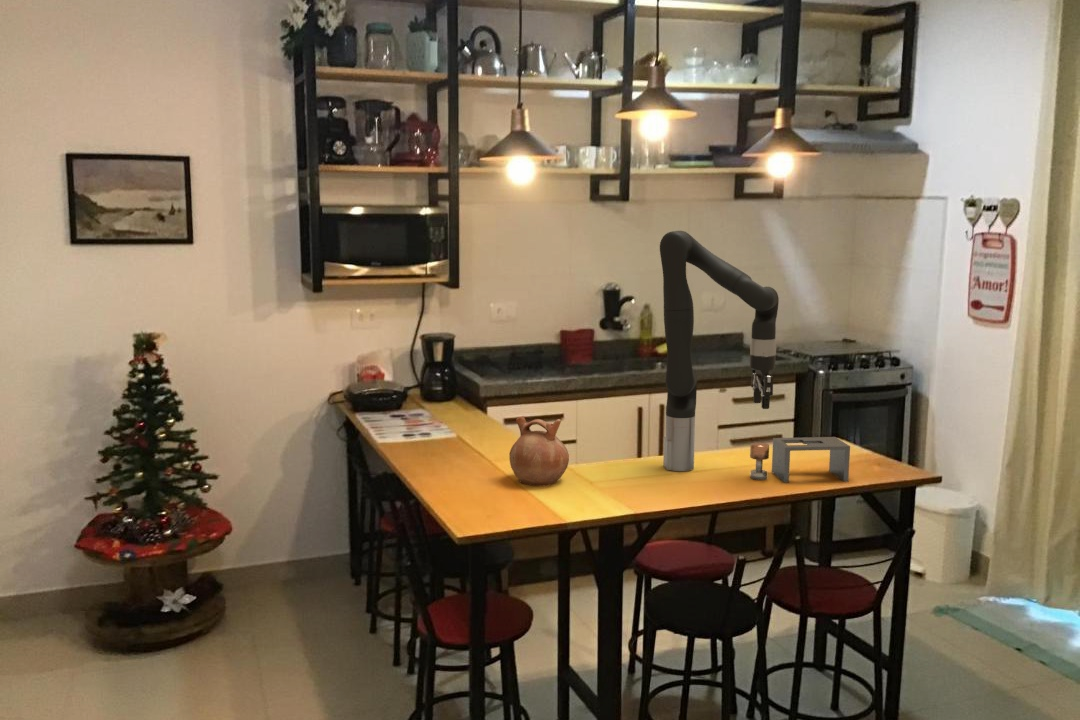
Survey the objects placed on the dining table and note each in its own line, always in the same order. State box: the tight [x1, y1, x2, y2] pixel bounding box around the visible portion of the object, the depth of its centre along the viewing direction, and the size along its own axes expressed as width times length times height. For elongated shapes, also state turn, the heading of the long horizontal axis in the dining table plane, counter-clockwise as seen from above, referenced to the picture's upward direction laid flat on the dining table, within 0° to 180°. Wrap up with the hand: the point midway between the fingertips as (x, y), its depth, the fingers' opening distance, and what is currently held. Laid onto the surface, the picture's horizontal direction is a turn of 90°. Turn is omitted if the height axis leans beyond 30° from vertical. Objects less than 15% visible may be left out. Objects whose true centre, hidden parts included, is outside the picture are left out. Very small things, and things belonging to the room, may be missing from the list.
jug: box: [508, 415, 570, 487], centre depth 293 cm, size 18×18×20 cm
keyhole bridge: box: [771, 436, 851, 484], centre depth 297 cm, size 20×12×11 cm, turn 94°
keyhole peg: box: [749, 442, 770, 481], centre depth 296 cm, size 6×6×10 cm
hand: (761, 405), depth 294 cm, fingers open, 8 cm apart
